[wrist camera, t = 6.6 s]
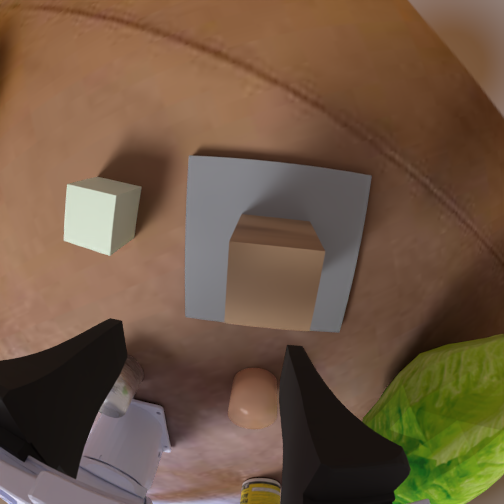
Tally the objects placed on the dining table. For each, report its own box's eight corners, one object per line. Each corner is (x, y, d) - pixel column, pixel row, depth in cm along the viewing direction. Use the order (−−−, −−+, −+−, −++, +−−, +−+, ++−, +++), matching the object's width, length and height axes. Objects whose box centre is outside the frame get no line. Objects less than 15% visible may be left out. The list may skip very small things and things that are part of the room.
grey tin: (146, 387, 27) (129, 422, 22) (109, 378, 27) (89, 409, 22) (140, 355, 25) (120, 391, 21) (101, 346, 26) (77, 378, 21)
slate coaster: (337, 326, 23) (339, 332, 22) (187, 311, 23) (185, 317, 22) (368, 174, 19) (371, 175, 18) (192, 155, 19) (189, 155, 18)
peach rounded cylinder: (273, 399, 26) (273, 430, 22) (232, 395, 26) (226, 426, 22) (279, 369, 25) (280, 402, 21) (234, 365, 25) (228, 397, 21)
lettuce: (521, 334, 23) (589, 413, 8) (371, 442, 28) (393, 547, 14) (500, 238, 19) (621, 319, 5) (305, 385, 25) (317, 539, 11)
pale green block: (134, 237, 22) (110, 255, 18) (92, 225, 22) (63, 240, 18) (142, 186, 20) (116, 195, 17) (97, 176, 20) (67, 184, 16)
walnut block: (300, 283, 21) (309, 331, 15) (236, 276, 21) (224, 323, 15) (309, 221, 19) (325, 251, 14) (241, 214, 20) (229, 241, 14)
